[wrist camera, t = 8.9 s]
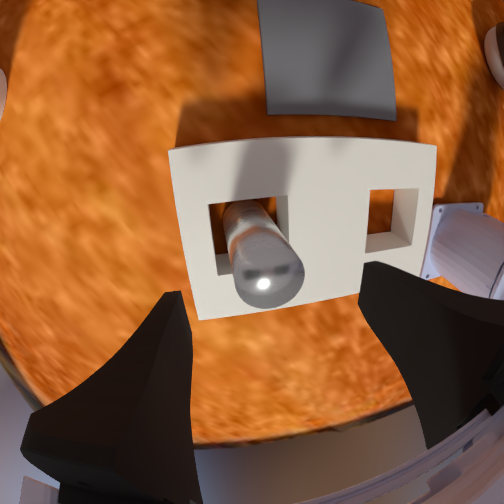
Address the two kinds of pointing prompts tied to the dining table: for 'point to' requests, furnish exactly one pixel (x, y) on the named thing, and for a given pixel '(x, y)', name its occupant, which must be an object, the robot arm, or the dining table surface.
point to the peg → (260, 256)
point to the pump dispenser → (495, 52)
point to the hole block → (304, 209)
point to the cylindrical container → (2, 92)
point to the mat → (326, 59)
